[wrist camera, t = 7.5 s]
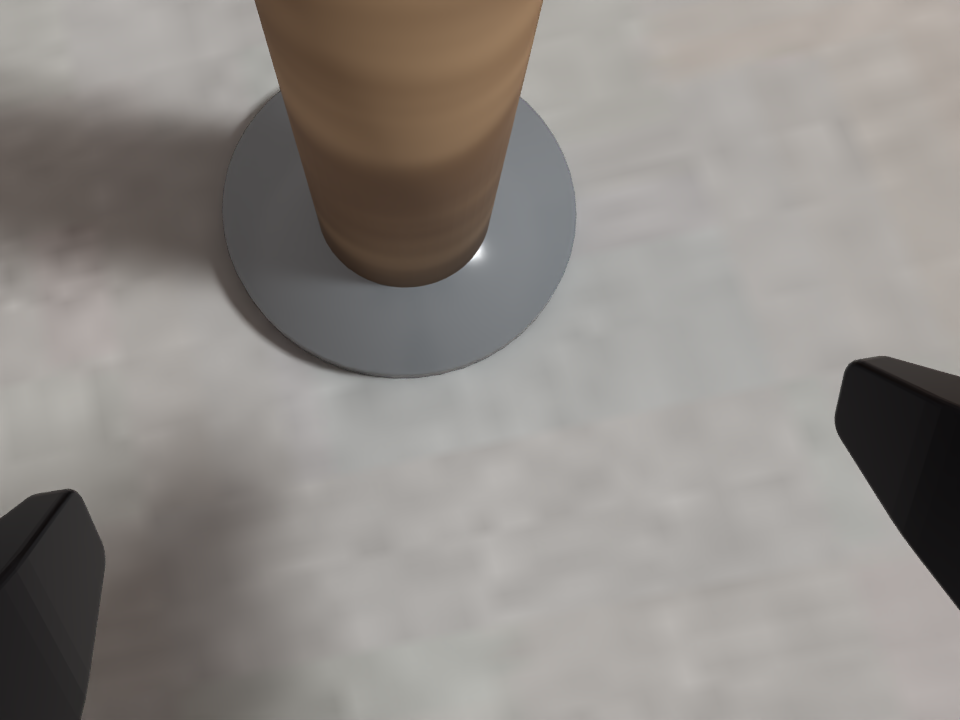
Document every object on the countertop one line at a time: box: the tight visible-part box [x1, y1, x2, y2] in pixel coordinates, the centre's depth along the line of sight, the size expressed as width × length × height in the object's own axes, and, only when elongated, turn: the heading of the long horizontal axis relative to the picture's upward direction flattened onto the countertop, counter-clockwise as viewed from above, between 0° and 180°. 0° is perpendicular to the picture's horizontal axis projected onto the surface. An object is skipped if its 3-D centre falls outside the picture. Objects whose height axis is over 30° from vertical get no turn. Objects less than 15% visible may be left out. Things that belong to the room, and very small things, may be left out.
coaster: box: [222, 91, 576, 378], centre depth 19 cm, size 9×9×1 cm
